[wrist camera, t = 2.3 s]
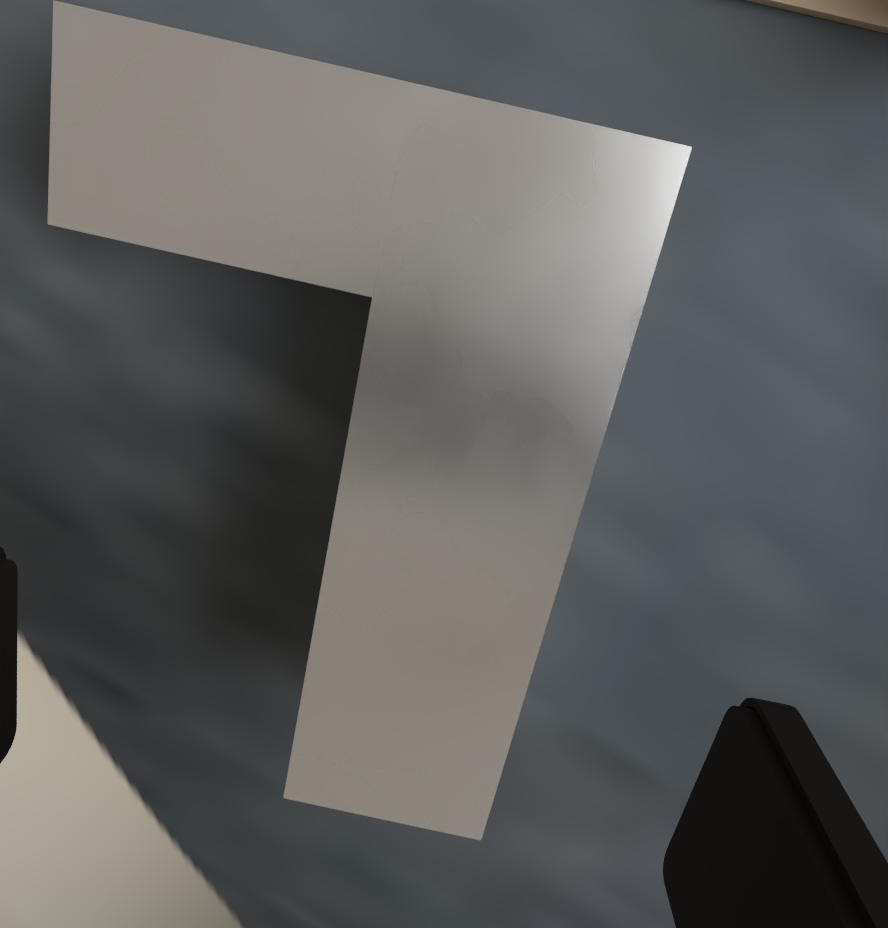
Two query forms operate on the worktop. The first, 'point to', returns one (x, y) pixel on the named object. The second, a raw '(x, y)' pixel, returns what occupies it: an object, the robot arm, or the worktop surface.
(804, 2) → the wooden tray
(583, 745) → the worktop surface
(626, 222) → the aluminium bracket
